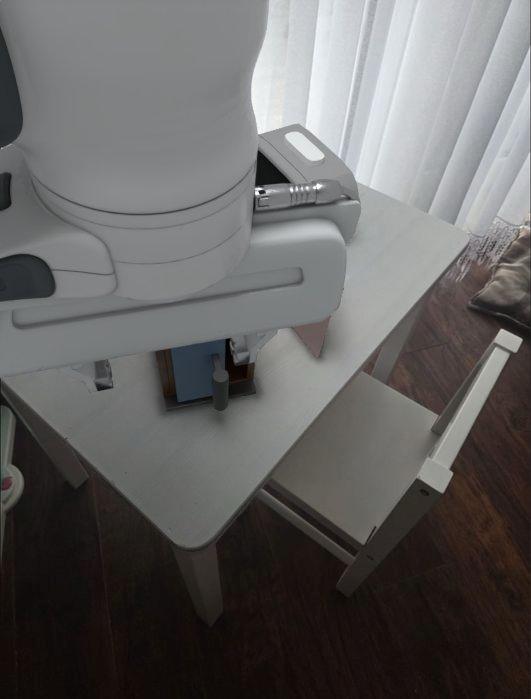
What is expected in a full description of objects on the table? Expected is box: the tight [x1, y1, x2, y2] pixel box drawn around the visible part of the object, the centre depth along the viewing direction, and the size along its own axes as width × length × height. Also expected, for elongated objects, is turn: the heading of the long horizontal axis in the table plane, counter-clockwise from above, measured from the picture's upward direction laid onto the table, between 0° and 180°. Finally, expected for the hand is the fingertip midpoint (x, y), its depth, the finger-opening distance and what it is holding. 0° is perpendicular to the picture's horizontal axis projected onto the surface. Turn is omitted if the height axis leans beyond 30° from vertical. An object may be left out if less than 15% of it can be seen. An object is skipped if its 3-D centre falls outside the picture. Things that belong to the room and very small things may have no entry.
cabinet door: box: [170, 339, 229, 412], centre depth 57 cm, size 5×6×13 cm
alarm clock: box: [255, 123, 360, 197], centre depth 81 cm, size 21×10×13 cm, turn 33°
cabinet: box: [154, 338, 258, 412], centre depth 62 cm, size 14×12×15 cm
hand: (174, 368), depth 33 cm, fingers open, 8 cm apart
